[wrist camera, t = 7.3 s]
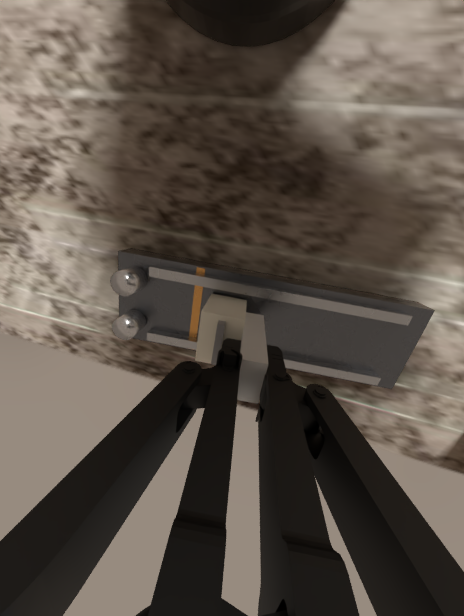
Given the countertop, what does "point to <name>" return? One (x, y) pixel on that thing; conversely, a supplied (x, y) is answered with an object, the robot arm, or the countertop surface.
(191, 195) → the countertop surface
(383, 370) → the console
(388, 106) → the countertop surface
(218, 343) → the fader tab
